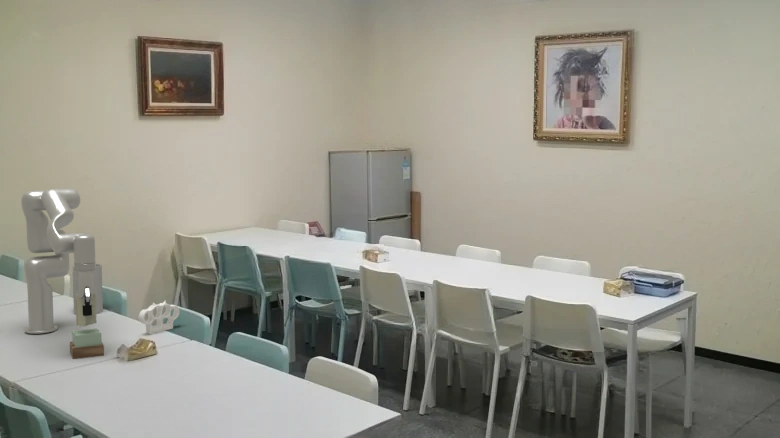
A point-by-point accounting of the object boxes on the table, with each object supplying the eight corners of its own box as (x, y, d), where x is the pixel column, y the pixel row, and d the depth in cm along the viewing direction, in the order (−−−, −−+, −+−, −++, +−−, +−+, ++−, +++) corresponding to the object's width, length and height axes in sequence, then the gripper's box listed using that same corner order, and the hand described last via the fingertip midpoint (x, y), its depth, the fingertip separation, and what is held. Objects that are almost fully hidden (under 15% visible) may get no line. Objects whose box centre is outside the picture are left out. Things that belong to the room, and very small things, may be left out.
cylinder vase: (97, 315, 360) (96, 263, 358) (107, 319, 350) (105, 266, 348) (70, 318, 352) (68, 265, 350) (79, 323, 342) (77, 268, 340)
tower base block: (70, 353, 292) (69, 341, 291) (100, 350, 297) (100, 338, 296) (72, 360, 282) (72, 348, 282) (103, 356, 287) (103, 345, 287)
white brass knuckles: (180, 331, 327) (179, 298, 326) (143, 339, 313) (143, 304, 311) (175, 330, 329) (174, 297, 328) (139, 338, 315) (138, 303, 314)
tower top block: (72, 342, 290) (72, 331, 290) (97, 339, 295) (96, 328, 295) (76, 347, 283) (75, 335, 282) (101, 344, 287) (101, 332, 287)
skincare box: (88, 322, 292) (87, 291, 291) (97, 323, 290) (96, 292, 289) (75, 325, 286) (74, 293, 285) (84, 326, 285) (83, 294, 284)
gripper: (72, 265, 293) (73, 310, 294) (76, 271, 277) (77, 319, 279) (93, 263, 296) (94, 308, 297) (98, 269, 281) (99, 317, 282)
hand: (86, 313), depth 288 cm, fingers closed on skincare box, 7 cm apart
